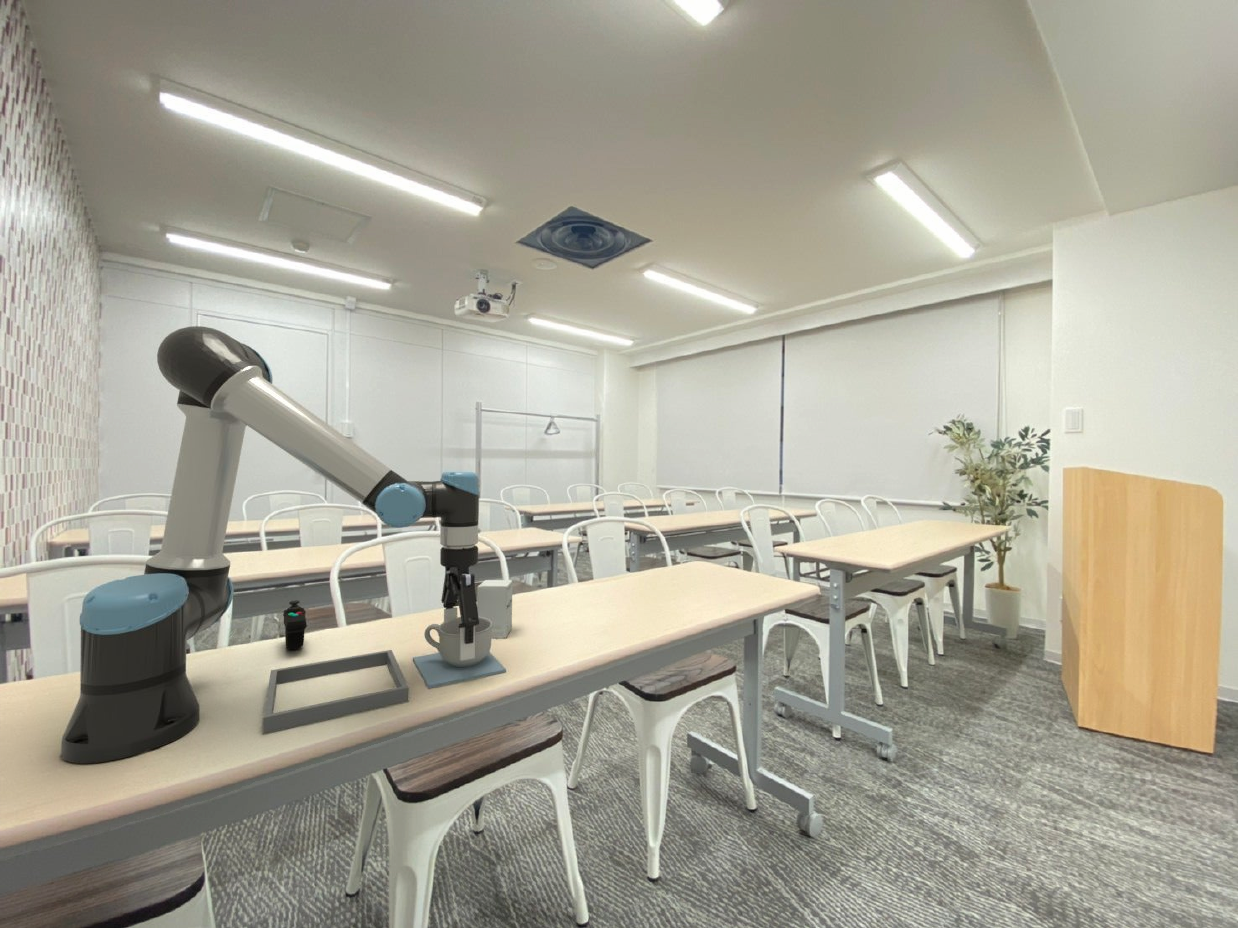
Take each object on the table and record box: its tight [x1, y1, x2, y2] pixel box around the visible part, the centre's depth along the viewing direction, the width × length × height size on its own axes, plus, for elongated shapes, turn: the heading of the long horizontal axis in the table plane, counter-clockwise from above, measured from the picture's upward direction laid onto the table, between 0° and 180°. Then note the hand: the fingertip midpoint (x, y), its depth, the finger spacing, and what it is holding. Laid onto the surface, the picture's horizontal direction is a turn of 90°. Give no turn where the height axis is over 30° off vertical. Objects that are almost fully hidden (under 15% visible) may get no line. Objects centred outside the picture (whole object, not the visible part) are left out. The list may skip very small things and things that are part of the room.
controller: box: [283, 599, 308, 651], centre depth 113 cm, size 4×12×10 cm, turn 36°
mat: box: [412, 651, 507, 690], centre depth 104 cm, size 15×16×1 cm
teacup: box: [424, 616, 493, 667], centre depth 105 cm, size 14×11×8 cm
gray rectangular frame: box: [262, 649, 410, 735], centre depth 92 cm, size 21×21×2 cm
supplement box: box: [476, 579, 513, 639], centre depth 125 cm, size 7×7×13 cm
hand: (458, 648), depth 104 cm, fingers open, 13 cm apart
